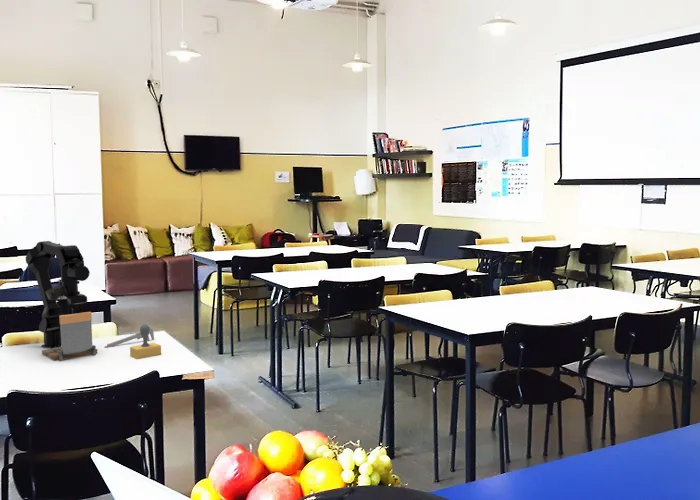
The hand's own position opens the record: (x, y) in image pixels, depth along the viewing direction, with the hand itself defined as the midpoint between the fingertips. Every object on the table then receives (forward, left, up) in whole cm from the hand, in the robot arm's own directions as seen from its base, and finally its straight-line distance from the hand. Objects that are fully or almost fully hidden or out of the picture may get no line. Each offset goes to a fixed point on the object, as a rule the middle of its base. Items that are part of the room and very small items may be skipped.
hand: (71, 318), depth 263 cm
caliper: (+13, +18, -14) cm, 26 cm away
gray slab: (+8, -7, -10) cm, 15 cm away
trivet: (+2, -3, -13) cm, 14 cm away
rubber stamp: (+30, +4, -13) cm, 33 cm away
